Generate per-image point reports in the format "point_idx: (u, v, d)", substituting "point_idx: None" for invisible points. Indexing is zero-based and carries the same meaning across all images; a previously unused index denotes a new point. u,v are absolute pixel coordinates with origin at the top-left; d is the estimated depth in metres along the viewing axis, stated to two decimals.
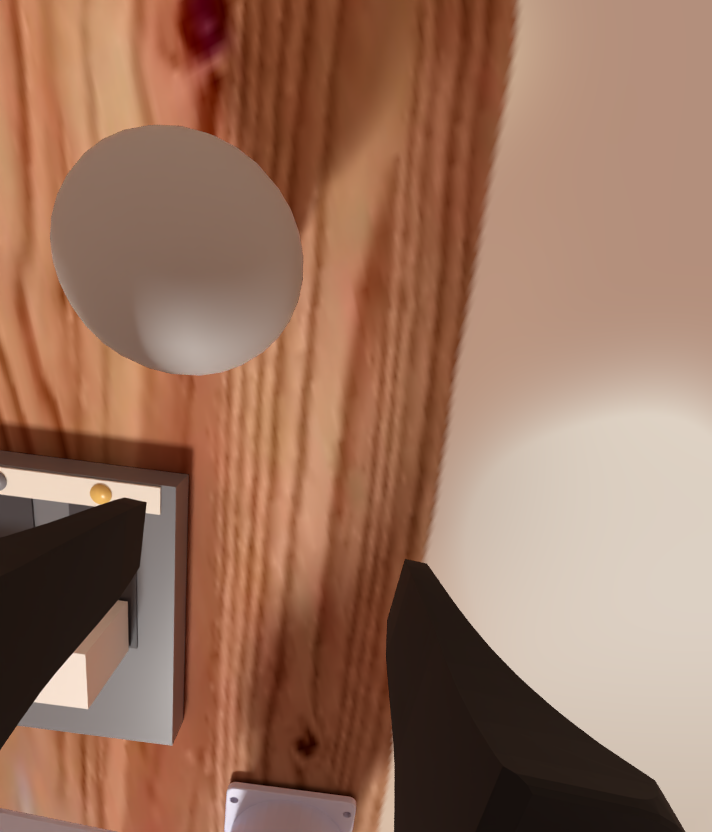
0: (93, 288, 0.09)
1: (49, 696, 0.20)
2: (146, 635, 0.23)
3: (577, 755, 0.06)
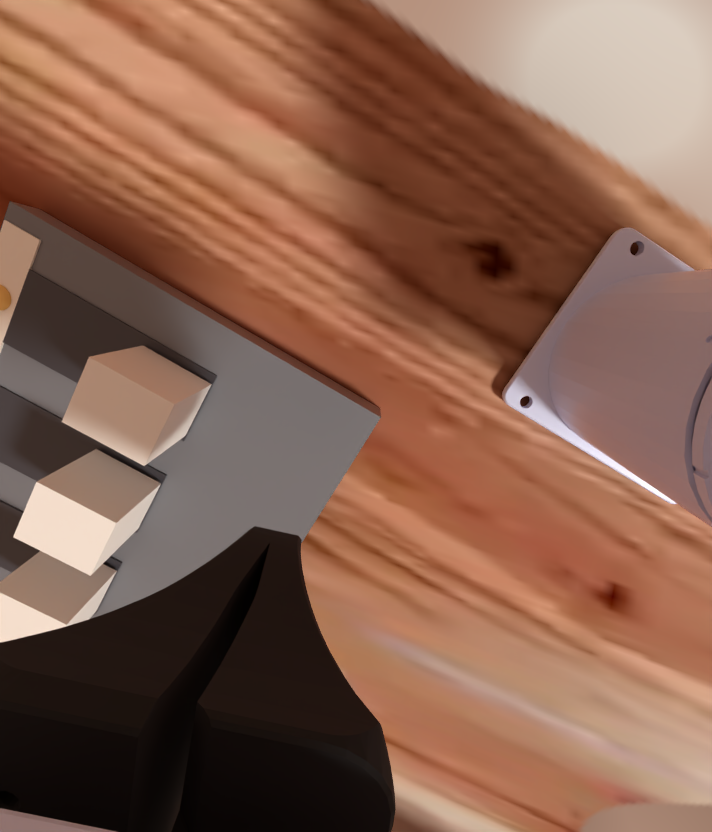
0: None
1: (141, 440, 0.15)
2: (203, 355, 0.17)
3: (310, 699, 0.06)
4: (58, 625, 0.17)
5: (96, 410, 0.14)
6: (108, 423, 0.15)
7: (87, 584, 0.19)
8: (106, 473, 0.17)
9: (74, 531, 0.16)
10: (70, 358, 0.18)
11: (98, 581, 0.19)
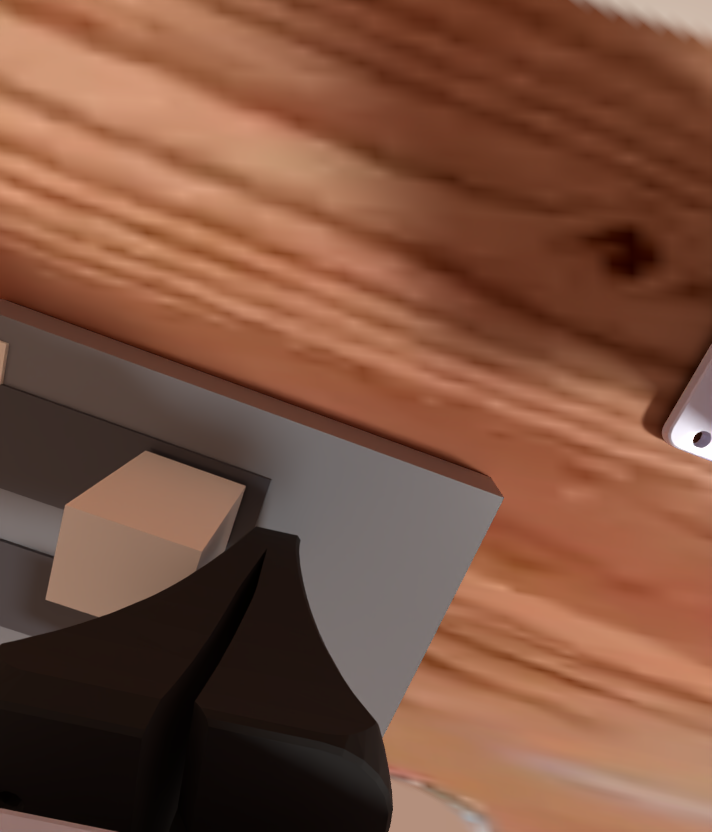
0: None
1: None
2: (249, 455, 0.13)
3: (307, 698, 0.06)
4: None
5: (91, 576, 0.10)
6: (111, 592, 0.10)
7: None
8: None
9: None
10: (74, 489, 0.13)
11: None
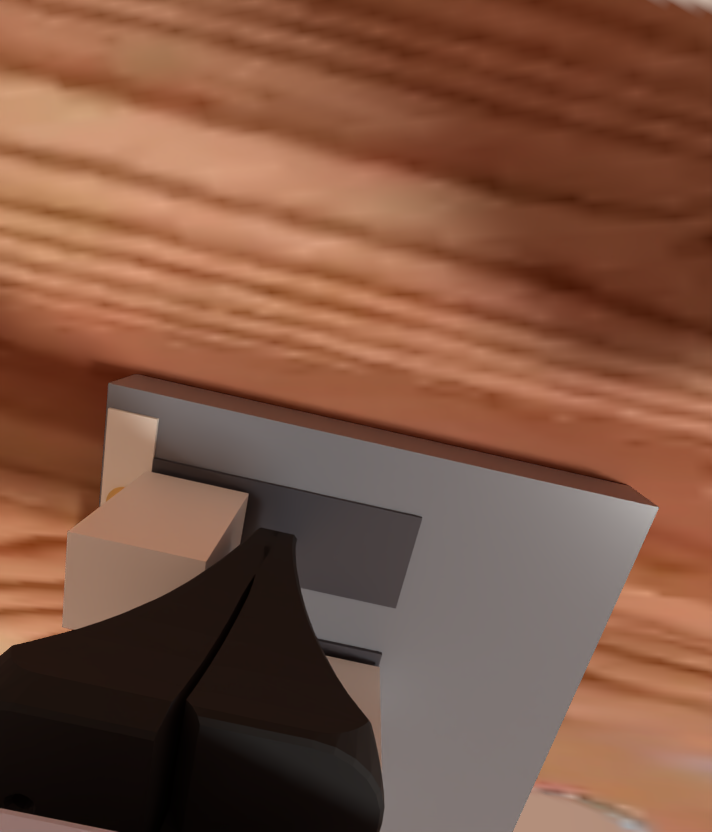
0: None
1: None
2: (398, 496, 0.13)
3: (300, 697, 0.06)
4: None
5: (102, 599, 0.10)
6: (124, 612, 0.10)
7: None
8: None
9: None
10: None
11: None
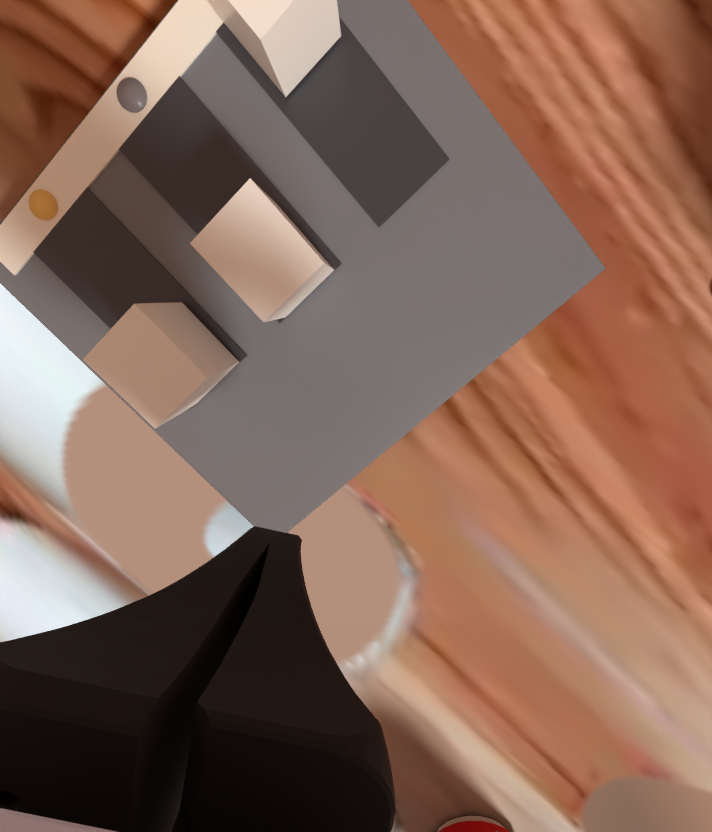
0: None
1: None
2: (444, 129, 0.15)
3: (309, 699, 0.06)
4: (197, 375, 0.14)
5: None
6: None
7: (217, 356, 0.16)
8: (293, 225, 0.15)
9: (268, 258, 0.13)
10: None
11: (225, 359, 0.16)
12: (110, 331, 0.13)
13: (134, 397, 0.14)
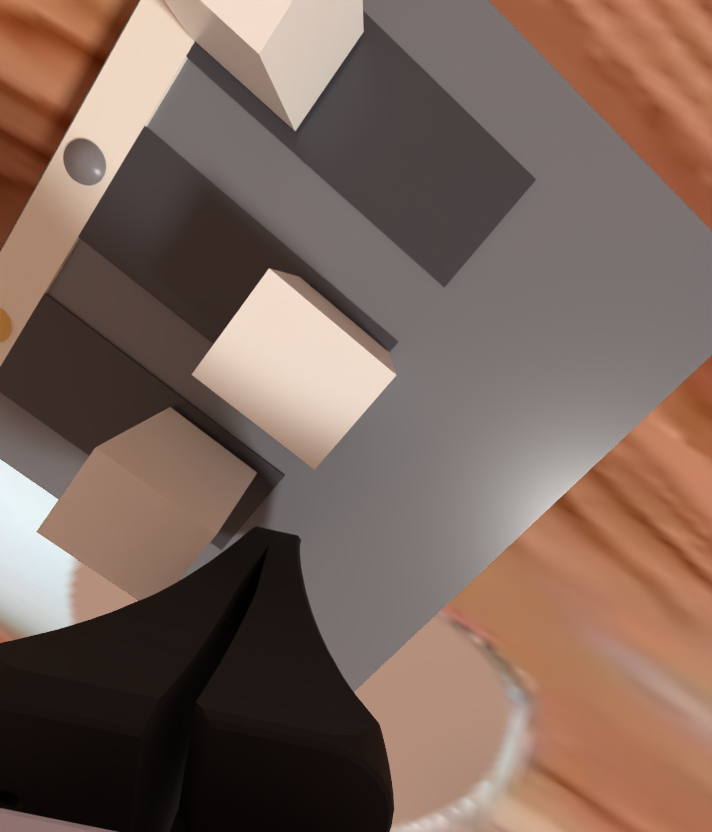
0: None
1: None
2: (524, 138, 0.10)
3: (309, 699, 0.06)
4: (201, 533, 0.09)
5: None
6: None
7: (227, 480, 0.11)
8: (332, 308, 0.10)
9: (311, 380, 0.08)
10: None
11: (239, 479, 0.12)
12: (68, 489, 0.09)
13: (117, 572, 0.10)
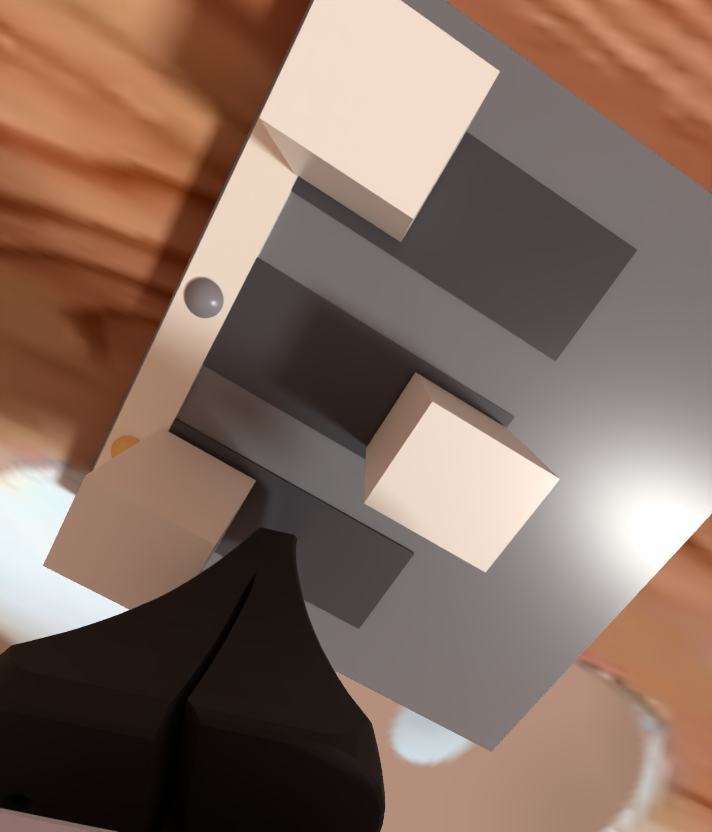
0: None
1: (417, 160, 0.07)
2: (621, 213, 0.11)
3: (301, 696, 0.06)
4: (201, 545, 0.09)
5: (334, 89, 0.07)
6: (354, 120, 0.07)
7: (224, 492, 0.11)
8: (461, 405, 0.11)
9: (478, 493, 0.09)
10: None
11: (237, 489, 0.12)
12: (66, 520, 0.09)
13: (125, 595, 0.10)
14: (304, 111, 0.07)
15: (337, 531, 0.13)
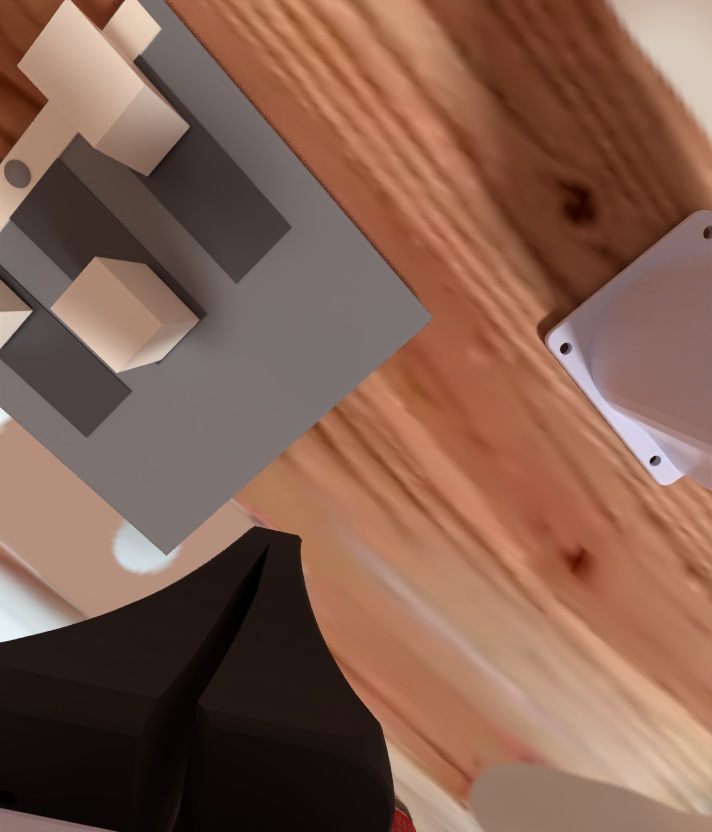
0: None
1: (98, 116, 0.14)
2: (285, 202, 0.17)
3: (310, 699, 0.06)
4: None
5: (58, 64, 0.13)
6: (67, 84, 0.13)
7: None
8: (154, 285, 0.17)
9: (116, 321, 0.15)
10: None
11: (9, 305, 0.18)
12: None
13: None
14: (41, 70, 0.13)
15: (81, 361, 0.19)
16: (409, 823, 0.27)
